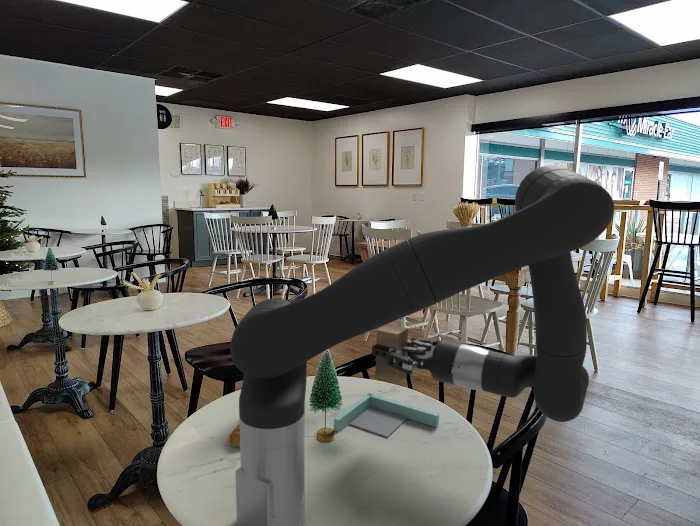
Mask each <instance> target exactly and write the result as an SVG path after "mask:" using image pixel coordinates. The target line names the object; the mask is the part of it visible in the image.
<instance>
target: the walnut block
mask: <svg viewBox="0 0 700 526" xmlns="http://www.w3.org/2000/svg"><path fill="white" fill-rule="evenodd" d="M408 339H409V328H408V327H404V326H398V325H394V324H390V323H388V324H386V325H384V326H381V327H379V328H377V329H376V341H375V344H378V345H382V346H387V347H391V348H399V349H401V348H402V347H408ZM398 354H400V353H398ZM400 355H401V354H400ZM406 357H408V354H407V352H406ZM407 375H408V374H406V373H404V372H402V371H399V370H397V369H395V368H392V367H390V366H388V365H387V359H385V358H381V357H377V356H375V380H378V381H382V382H386V383H389V384H393V385H397V384H399V383H400V382H402V381H403V380H404V379H405V378H407V377H408V376H407Z"/></svg>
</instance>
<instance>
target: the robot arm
mask: <svg viewBox="0 0 700 526" xmlns="http://www.w3.org/2000/svg"><path fill="white" fill-rule="evenodd" d="M514 206H515V207H514V209H515V212H512V213H510V214H509V215H507V216H505V217H502V218H500V219H497V220H494V221H491V222H487V223H483V224H479V225H471V226H467V227H466V226H465V227H457V228H450V229H448V228H447V229H441V230H434V231H429V232H425V233H421V234H418V235H415V236H412V237H410V238H408V239H406V240H404V241H401V242H398V243H397V244H394V245H392V246H390V247H388V248H385V249H384V250H381V251H380V252H378V253H376V254H374V255H373V256H371V257H369V258H367V259H366V260H364V261H363V262H361V263H359V264H358V265H356V266H355V267H353V268H352V269H350V270H349V271H347V272H346V273H345V274H344V275H341V276H340V277H339V278H337V280H335V281H333V282H332V283H330V284H328V285H327V286H326V287H324V288H323V289H321V290H319V291H317V292H315V293H313V294H311V295H308V296H305V297H304V298H301V299H298V300H296V301H292V302H290V301H288V300H286V299H283V298H267V299H264V300H262V301H260V302H258V303H256V304H255V305H253V306H251V308H249V311H247V313H246V314H245V315H244V316H243V317H242V319H241V320H240V321H239V322H238V323H237V325H236V327H235V329H234V331H233V333H232V337H231V340H230V348H229V350H230V356H231V360H232V362H233V364H234V366H236V368H237V369H238V370H240V372H242V373H243V378H242V383H241V389H240V394H239V398H238V413H239V414H238V415H239V417H238V419H239V422H238V423H239V424H240V448H239V453H240V454H239V455H240V457H239V459H240V467H238V468H237V469H236V470H235V474H234V475H235V499H236V500H235V504H236V526H303V525H304V523H305V519H306V518H305V517H306V516H305V515H306V513H305V511H306V510H305V509H306V508H305V505H306V502H305V501H306V499H305V497H306V496H305V495H306V494H305V493H306V492H305V491H306V490H305V489H306V487H305V486H306V485H305V483H306V481H305V479H306V478H305V468H306V467H305V464H306V462H305V461H306V459H305V454H306V453H305V450H306V448H305V447H306V446H305V445H306V443H305V442H306V441H305V440H306V439H305V438H306V437H305V435H306V434H305V433H306V432H305V428H306V427H305V426H306V425H305V418H306V417H305V415H306V414H305V411H306V410H305V407H306V406H305V402H306V401H305V399H306V393H307V392H306V391H307V377H308V376H307V371H308V367H307V366H308V364H307V362H308V361H309V360H311V359H313V358H315V357H316V356H318V355H320V354H322V353H324V352H325V351H327V350H329V349H330V348H331V349H332V348H334V347H335V346H337V345H339V344H341V343H344V342H345V341H347V340H350V339H352V338H355V337H357V336H360V335H364V334H367V333H368V332H370V331H373V330H377V329H380V328H382V327H384V326H386V325H388V324H391V323H393V322H396V321H397V320H400V319H403V318H405V317H408V316H410V315H413V314H415V313H418V312H420V311H423V310H424V309H425V310H426V309H427V308H429V307H432V306H434V305H436V304H439V303H441V302H443V301H445V300H447V299H448V298H450V297H451V298H452V297H453V296H455V295H457V294H460V293H462V292H465V291H466V290H470V289H472V288H474V287H477V286H479V285H482V284H484V283H487V282H488V281H491V280H493V279H497V278H498V277H500V276H503V275H505V274H509V273H511V272H513V271H515V270H516V271H517V270H519V269H522V268H525V267H527V266H528V272H529V278H530V283H531V285H530V286H531V293H532V299H533V301H532V302H533V311H534V312H533V313H534V329H535V330H534V331H535V333H534V334H535V349H536V354H532V355H531V354H527V355H526V354H525V355H511V354H507V353H503V352H497V351H492V350H489V349H487V348H486V349H485V348H484V347H480V346H476V345H471V344H468V343H467V344H466V343H463V342H458V341H452V340H447V339H441V340H439V339H434V338H432V339H430V338H422V337H414V336H412V337H410V338H408V347H402V348H401V349H399V348H391V347H387V346H382V345H378V344H376V343H374V344H373V345H372V346H371V348H372V349H371V354H372V356H374V357H376V356H377V357H381V358H385V359H387V365H388V366H390V367H392V368H395V369H397V370H399V371H402V372H404V373H406V374H407V375H412V374H413V373H414V372H413V371H414V369H416V370H421V371H422V370H426V371H429V372H430V374H431V376H432V378H433V379H434V380H435V381H438V382H442V383H445V384H449V385H453V386H457V387H460V388H464V389H469V390H475V391H483V392H486V393H489V394H494V395H498V396H500V397H501V396H502V397H506V398H511V399H512V398H516V397H518V396H519V395H520V394H521V393H522V392H523V391H524V390H525V389H527V388H532V387H533V398H534V403H535V405H536V407H537V409H539V411H540V412H541V414H543V415H544V416H545V417H546V418H548V419H549V420H551V421H554V422H559V423H567V422H570V421H573V420H575V419H576V418H577V417H578V416H580V414H581V413H582V411H583V407H584V404H585V399H586V395H587V392H588V388H589V384H590V376H589V372H588V370H587V369H586V368H585V366H584V362H585V358H586V353H587V344H588V342H587V340H588V338H587V337H588V324H587V312H586V308H585V307H586V306H585V304H584V303H585V302H584V298H583V296H582V292H581V288H580V286H579V283H578V279H577V275H576V272H575V268H574V264H573V259H572V258H573V257H572V252H574V251H576V250H579V249H581V248H583V247H585V246H587V245H588V244H589V245H590V244H591V243H592V242H593V241H595V240H596V239H598V238H599V236H601V235H602V234H603V233H604V232H605V231H606V229H607V228H608V227H609V226H610V224H611V221H612V220H613V216H614V212H615V203H614V200H613V197H612V195H611V194H610V192H609V191H608V190H606V189H605V187H603V186H602V185H600V184H599V183H598V182H596V181H594V180H592V179H590V178H588V177H587V176H584V175H583V174H580V173H577V172H576V171H573V170H571V169H569V168H566V167H563V166H560V165H553V164H548V165H541V166H539V167H537V168H535V169H534V170H532V171H530V172H529V173H527V175H525V176H524V178H523V179H522V180H521V181H520V183H519V184H518V187H517V191H516V194H515V198H514ZM406 352H407V357H406ZM398 353H400V354H401V355H400V354H398Z"/></svg>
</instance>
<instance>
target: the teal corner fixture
mask: <svg viewBox="0 0 700 526" xmlns="http://www.w3.org/2000/svg"><path fill="white" fill-rule="evenodd" d="M407 420H412V421H415V422H419V423H422V424H423V425H428V426H431V427H435V428H437V427H439V425H440V424H439V423H440V421H439V420H440V413H438V412H434V411H431V410H429V409H424V408H421V407H418V406H414V405H411V404H408V403H403V402H401V401H397V400H395V399H394V400H393V399H390V398H387V397H383V396H380V395H377V394H374V393H370V392H368V393H367V394H366V395H364V396H362V398H360V399H358V400H357V401H356V402H355V403H353V404H352V405H351V406H349V407H348V408H346V409H344V411H342V412H341V413H339V414H338V415H336V416H335V417H334V418H333V431H335V432H340V431H342V430H343V429H344V428H346V427H347V426H348V425H349V426H352V427H355V428H358V429H361V430H363V431H365V432H369V433H373V434H375V435H378V436H381V437H383V438H386V439H388V438H389V437H390V436H391V435H392V434H393V433H395V432H396V431H397V429H399V428H400V427H401V426H402V425H403V424H404V422H406V421H407Z"/></svg>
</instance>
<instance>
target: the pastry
mask: <svg viewBox="0 0 700 526" xmlns="http://www.w3.org/2000/svg"><path fill="white" fill-rule="evenodd" d="M228 440H229V441H228V444H229V445H231V446H232V447H235V448H239V449H240V423H239V424H238V425H237V426H236V427H234V429H233V430H232V431H231V433H230V434H229V439H228Z"/></svg>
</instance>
